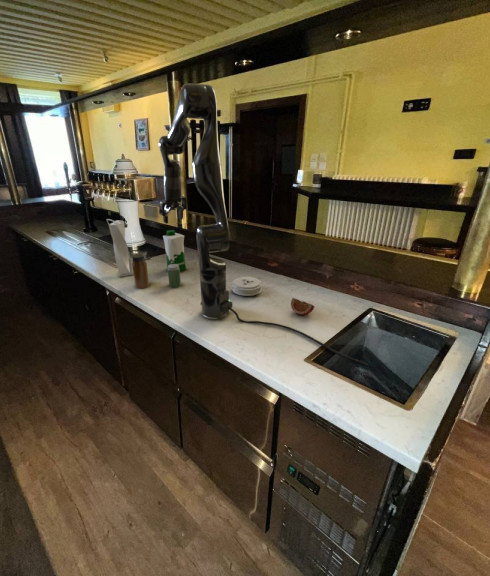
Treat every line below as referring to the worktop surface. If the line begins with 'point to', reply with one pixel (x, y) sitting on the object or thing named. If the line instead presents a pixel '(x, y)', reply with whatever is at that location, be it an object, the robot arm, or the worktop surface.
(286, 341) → the worktop surface
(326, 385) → the worktop surface
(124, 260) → the white paper bag
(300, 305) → the fruit slice
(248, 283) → the lid
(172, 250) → the milk carton
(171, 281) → the green bottle
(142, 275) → the amber bottle
